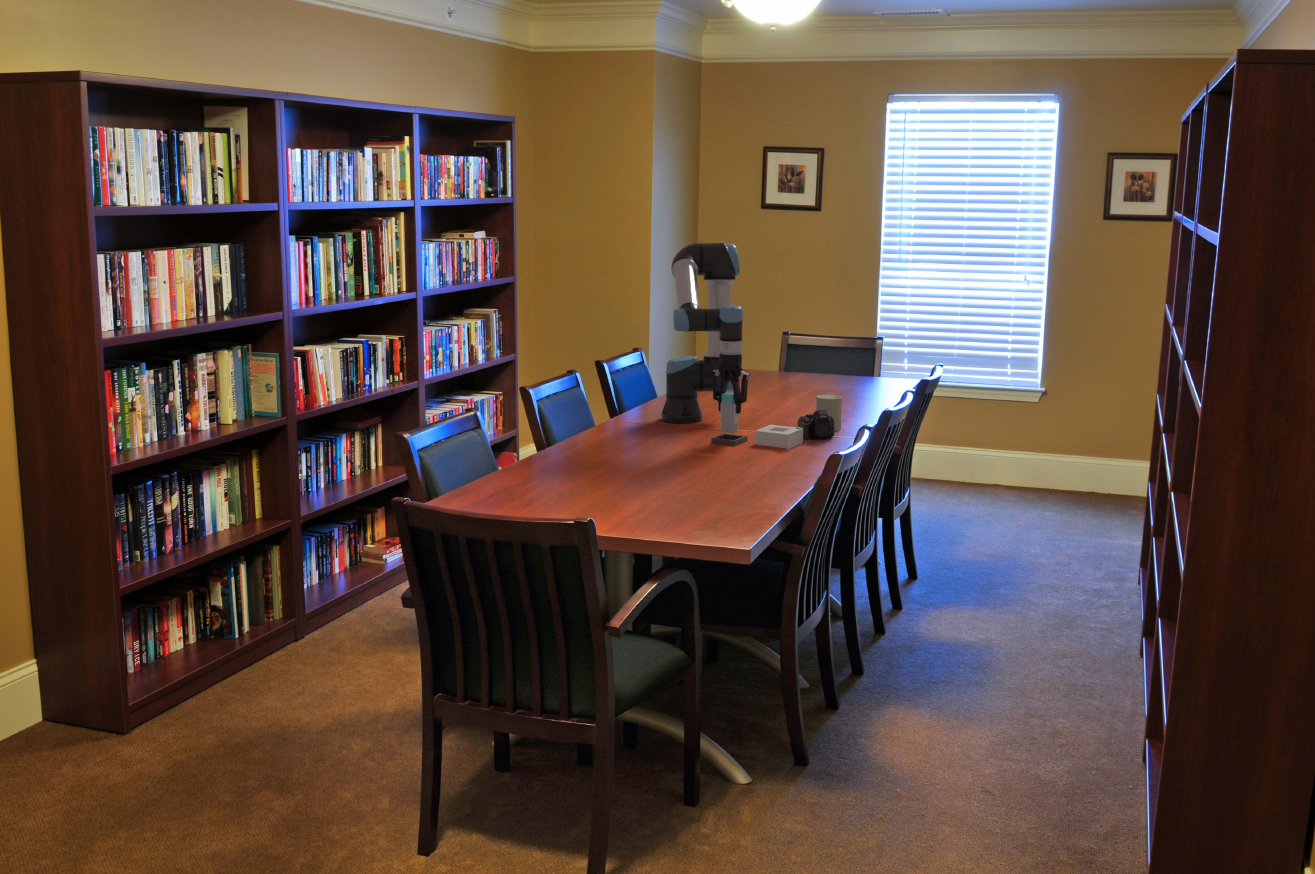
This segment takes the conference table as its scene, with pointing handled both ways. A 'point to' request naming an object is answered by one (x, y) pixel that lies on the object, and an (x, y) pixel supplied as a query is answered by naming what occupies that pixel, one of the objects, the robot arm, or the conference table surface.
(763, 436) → the port panel
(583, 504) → the conference table surface
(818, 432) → the camera
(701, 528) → the conference table surface
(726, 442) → the dark grey square tray
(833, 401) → the can
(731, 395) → the plug
